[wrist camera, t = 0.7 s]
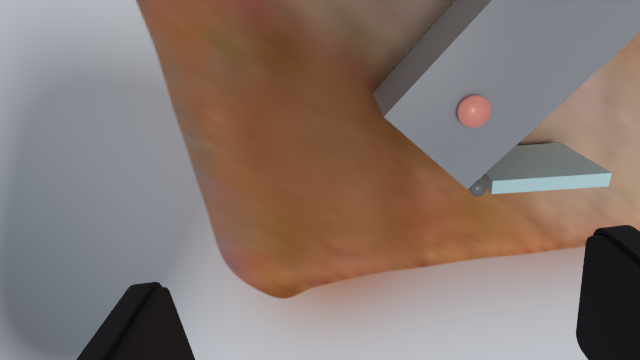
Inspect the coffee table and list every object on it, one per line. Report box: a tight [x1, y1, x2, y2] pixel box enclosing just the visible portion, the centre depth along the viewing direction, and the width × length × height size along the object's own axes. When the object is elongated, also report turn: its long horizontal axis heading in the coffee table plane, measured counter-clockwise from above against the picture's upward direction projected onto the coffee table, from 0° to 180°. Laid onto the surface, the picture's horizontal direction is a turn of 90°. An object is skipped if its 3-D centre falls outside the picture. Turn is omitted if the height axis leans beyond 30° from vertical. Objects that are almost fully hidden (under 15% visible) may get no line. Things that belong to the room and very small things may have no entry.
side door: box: [479, 143, 612, 194], centre depth 31 cm, size 8×2×7 cm, turn 95°
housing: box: [372, 0, 640, 196], centre depth 28 cm, size 18×9×9 cm, turn 140°
